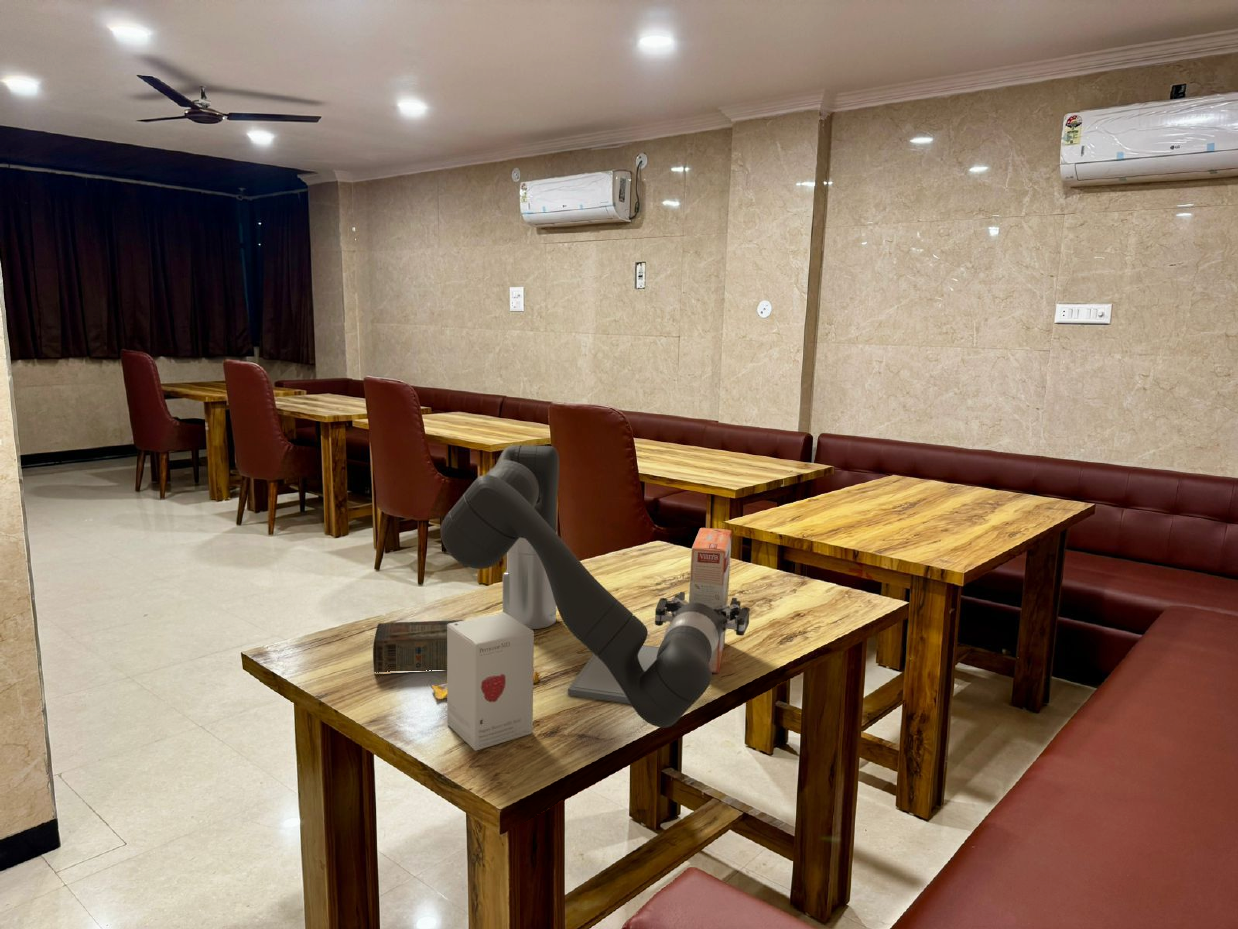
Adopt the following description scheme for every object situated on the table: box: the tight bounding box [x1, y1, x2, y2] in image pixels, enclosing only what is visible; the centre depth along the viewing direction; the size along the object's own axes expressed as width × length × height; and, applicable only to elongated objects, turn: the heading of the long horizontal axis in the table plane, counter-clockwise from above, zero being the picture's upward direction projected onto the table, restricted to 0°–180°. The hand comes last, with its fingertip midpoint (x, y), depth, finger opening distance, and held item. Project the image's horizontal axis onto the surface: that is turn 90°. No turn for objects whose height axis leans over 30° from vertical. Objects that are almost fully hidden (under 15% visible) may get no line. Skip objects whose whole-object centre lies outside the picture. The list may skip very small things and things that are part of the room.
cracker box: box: [688, 527, 733, 674], centre depth 137 cm, size 14×6×21 cm, turn 168°
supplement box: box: [446, 611, 535, 752], centre depth 111 cm, size 9×9×15 cm
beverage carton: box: [372, 619, 465, 673], centre depth 133 cm, size 8×19×7 cm, turn 102°
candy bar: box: [430, 668, 542, 700], centre depth 125 cm, size 17×4×2 cm, turn 116°
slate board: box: [567, 644, 660, 705], centre depth 131 cm, size 20×12×1 cm, turn 165°
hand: (708, 600), depth 133 cm, fingers open, 8 cm apart
